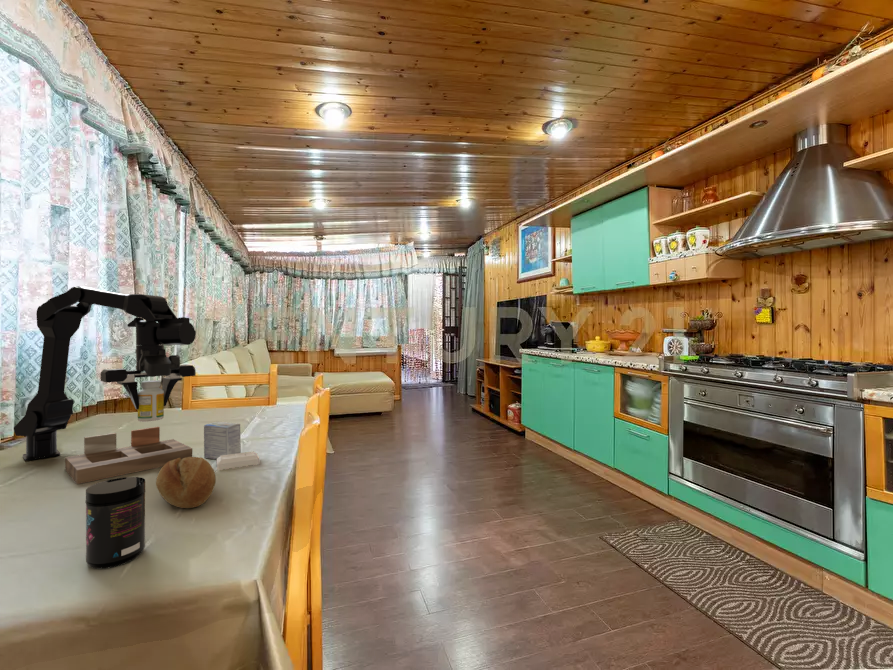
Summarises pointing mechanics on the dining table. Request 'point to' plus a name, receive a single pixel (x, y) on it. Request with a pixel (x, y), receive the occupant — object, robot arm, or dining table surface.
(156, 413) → the supplement bottle
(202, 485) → the bread roll
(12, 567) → the dining table surface
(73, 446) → the dining table surface
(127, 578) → the dining table surface
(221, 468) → the soap bar
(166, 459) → the socket board
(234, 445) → the medicine box
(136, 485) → the supplement container
